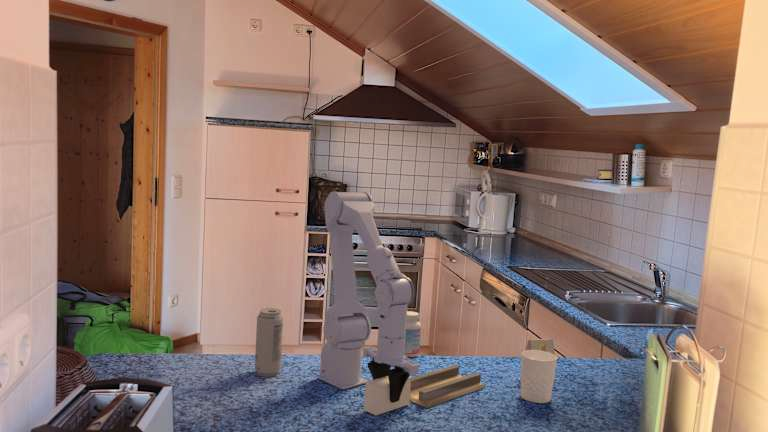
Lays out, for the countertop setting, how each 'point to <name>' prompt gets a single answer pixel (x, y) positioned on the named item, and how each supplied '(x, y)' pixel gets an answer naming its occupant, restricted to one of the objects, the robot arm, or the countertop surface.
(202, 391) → the countertop surface
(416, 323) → the pill bottle
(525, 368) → the white cup
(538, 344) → the white red printed box
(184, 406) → the countertop surface
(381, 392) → the cream rectangular block
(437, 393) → the sliding track
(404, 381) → the robot arm
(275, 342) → the energy drink can
